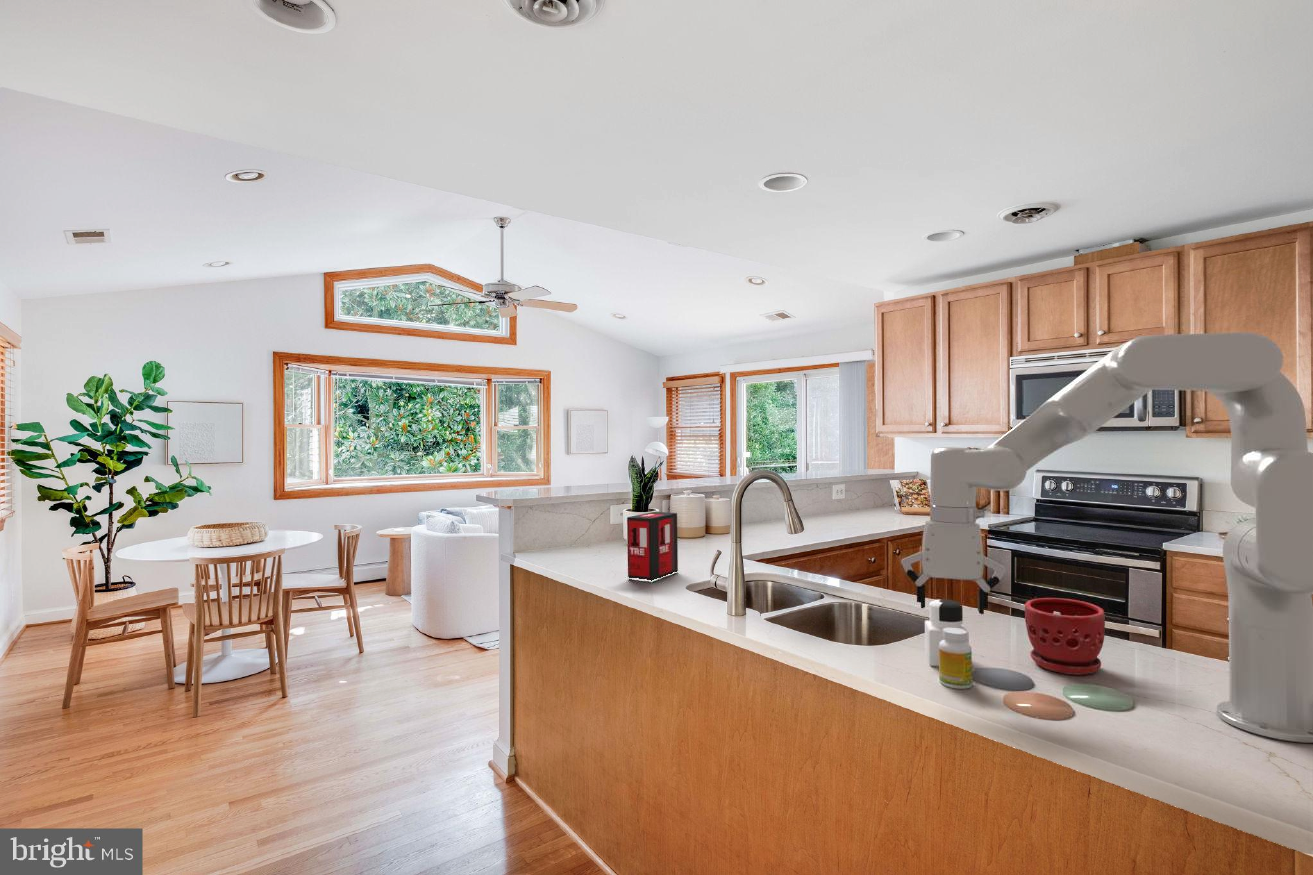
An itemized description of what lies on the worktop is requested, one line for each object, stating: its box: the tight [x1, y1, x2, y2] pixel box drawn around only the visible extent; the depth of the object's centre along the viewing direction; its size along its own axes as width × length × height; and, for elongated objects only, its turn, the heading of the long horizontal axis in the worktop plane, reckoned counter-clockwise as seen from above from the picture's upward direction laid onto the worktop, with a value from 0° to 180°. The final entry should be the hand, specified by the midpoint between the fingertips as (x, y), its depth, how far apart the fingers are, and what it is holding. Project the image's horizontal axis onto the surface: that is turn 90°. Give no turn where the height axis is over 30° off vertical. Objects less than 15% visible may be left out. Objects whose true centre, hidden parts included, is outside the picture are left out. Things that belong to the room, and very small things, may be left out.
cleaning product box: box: [626, 511, 679, 581], centre depth 212 cm, size 16×9×20 cm, turn 148°
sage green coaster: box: [1061, 683, 1134, 712], centre depth 111 cm, size 10×10×1 cm
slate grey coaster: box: [972, 667, 1034, 691], centre depth 120 cm, size 10×10×1 cm
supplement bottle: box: [938, 628, 973, 690], centre depth 118 cm, size 5×5×10 cm
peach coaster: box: [1002, 691, 1074, 720], centre depth 108 cm, size 10×10×1 cm
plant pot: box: [1024, 597, 1106, 676], centre depth 126 cm, size 13×13×12 cm
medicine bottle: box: [924, 598, 970, 668], centre depth 130 cm, size 7×7×12 cm
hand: (951, 609), depth 118 cm, fingers open, 9 cm apart
